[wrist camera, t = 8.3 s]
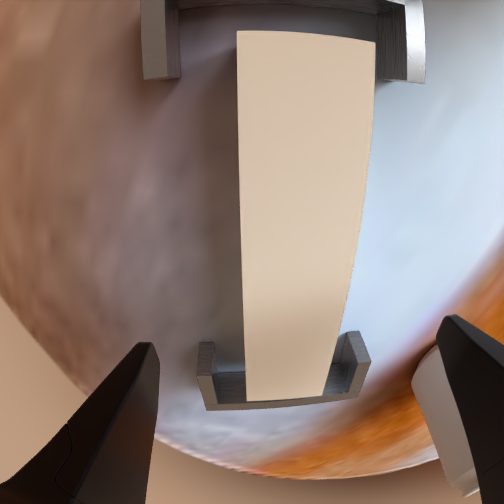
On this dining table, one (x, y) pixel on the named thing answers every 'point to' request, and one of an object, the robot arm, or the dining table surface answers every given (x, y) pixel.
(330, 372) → the end caps
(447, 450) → the can
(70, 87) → the dining table surface
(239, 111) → the beige wooden bar
